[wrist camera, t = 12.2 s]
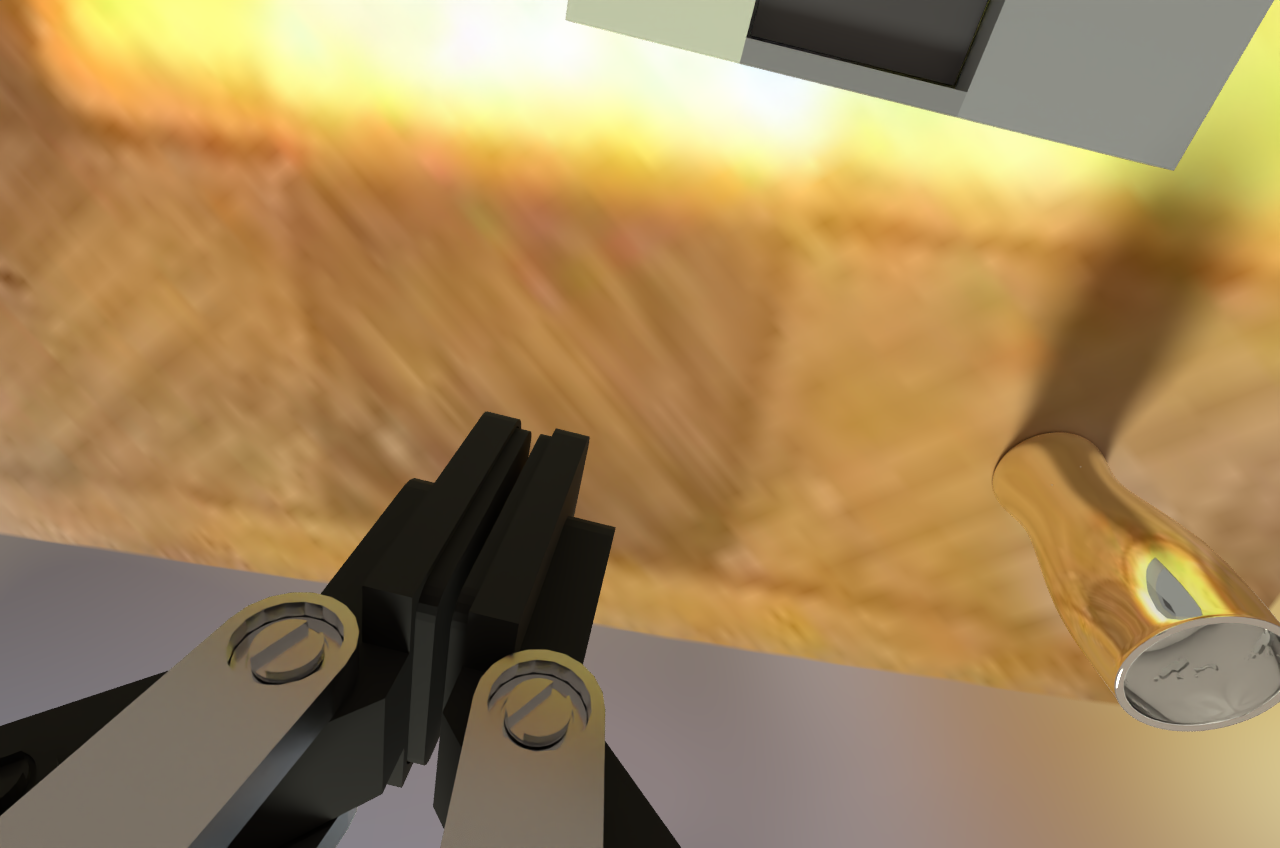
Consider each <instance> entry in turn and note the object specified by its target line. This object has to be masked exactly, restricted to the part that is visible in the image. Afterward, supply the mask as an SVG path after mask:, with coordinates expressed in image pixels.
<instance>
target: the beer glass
mask: <svg viewBox="0 0 1280 848" xmlns="http://www.w3.org/2000/svg"><path fill="white" fill-rule="evenodd" d="M992 485H993V491H994V494H995V497H996V499H997V500H998V502H999V503H1000V505H1001V506H1002V507H1003V508H1004V509H1005V510H1006V511H1007V512H1008V513H1009V514H1010V515H1011V516H1012V517H1014V518H1015V519H1016V520H1017V521H1018V522H1019V523H1020V524H1021V525H1022V526H1023V528H1024V529H1025V530H1026V532H1027V534H1028V536H1029V537H1030V540H1031V542H1032V545H1033V548H1034V550H1035V553H1036V556H1037V559H1038V562H1039V566H1040V569H1041V571H1042V574H1043V577H1044V580H1045V583H1046V586H1047V588H1048V591H1049V593H1050V595H1051V598H1052V600H1053V603H1054V605H1055V607H1056V609H1057V611H1058V613H1059V615H1060V617H1061V619H1062V620H1063V622H1064V624H1065V626H1066V627H1067V629H1068V631H1069V633H1070V634H1071V636H1072V637H1073V639H1074V640H1075V642H1076V643H1077V645H1078V646H1079V648H1080V649H1081V651H1082V652H1083V654H1084V655H1085V657H1086V658H1087V659H1088V661H1089V662H1090V663H1091V665H1092V666H1093V668H1094V669H1095V670H1096V672H1097V673H1098V674H1099V676H1100V677H1101V678H1102V679H1103V681H1104V682H1105V683H1106V685H1107V686H1108V687H1109V689H1110V690H1111V691H1112V693H1113V694H1114V695H1115V697H1116V698H1117V700H1118V702H1119V704H1120V705H1121V707H1122V708H1123V709H1124V710H1125V711H1126V712H1127V713H1128V714H1129V715H1131V716H1132V717H1133V718H1135V719H1137V720H1138V721H1140V722H1143V723H1145V724H1147V725H1150V726H1153V727H1157V728H1161V729H1166V730H1172V731H1204V730H1211V729H1217V728H1222V727H1226V726H1230V725H1234V724H1237V723H1240V722H1243V721H1246V720H1248V719H1251V718H1253V717H1255V716H1257V715H1259V714H1261V713H1263V712H1265V711H1267V710H1268V709H1270V708H1272V707H1273V706H1274V705H1276V704H1277V703H1279V702H1280V622H1279V621H1278V620H1277V619H1276V618H1275V617H1274V615H1273V614H1272V613H1271V612H1270V610H1269V609H1268V608H1267V607H1266V605H1265V604H1264V603H1263V602H1262V601H1261V600H1260V598H1259V597H1258V596H1257V595H1256V594H1255V593H1254V591H1253V590H1252V589H1251V588H1250V587H1249V586H1248V585H1247V583H1246V582H1245V581H1244V580H1243V579H1242V578H1241V577H1240V576H1239V575H1238V574H1237V573H1236V572H1235V571H1234V570H1233V569H1232V568H1231V567H1230V566H1229V564H1228V563H1227V562H1226V561H1224V560H1223V559H1222V558H1221V557H1220V556H1219V555H1218V554H1217V553H1216V552H1215V551H1213V550H1212V549H1211V548H1210V547H1209V546H1208V545H1207V544H1206V543H1205V542H1204V541H1202V540H1201V539H1200V538H1198V537H1197V536H1196V535H1194V534H1193V533H1192V532H1190V531H1189V530H1188V529H1186V528H1185V527H1184V526H1182V525H1181V524H1179V523H1178V522H1177V521H1175V520H1174V519H1172V518H1171V517H1169V516H1168V515H1166V514H1164V513H1163V512H1161V511H1160V510H1158V509H1157V508H1155V507H1154V506H1152V505H1151V504H1149V503H1148V502H1146V501H1144V500H1143V499H1141V498H1140V497H1138V496H1137V495H1135V494H1134V493H1132V492H1131V491H1130V490H1128V489H1127V488H1126V487H1124V486H1123V485H1122V484H1121V483H1120V482H1119V481H1118V480H1117V479H1116V477H1115V476H1114V475H1113V473H1112V471H1111V469H1110V468H1109V466H1108V464H1107V462H1106V460H1105V458H1104V456H1103V455H1102V453H1101V452H1100V450H1099V449H1098V448H1097V447H1096V446H1095V445H1094V444H1093V443H1092V442H1090V441H1089V440H1087V439H1085V438H1083V437H1081V436H1079V435H1076V434H1072V433H1065V432H1052V433H1045V434H1040V435H1037V436H1034V437H1031V438H1029V439H1026V440H1024V441H1022V442H1021V443H1019V444H1017V445H1016V446H1014V447H1013V448H1012V449H1011V450H1009V451H1008V452H1007V453H1006V454H1005V455H1004V456H1003V458H1002V459H1001V460H1000V462H999V463H998V465H997V467H996V469H995V471H994V475H993V482H992Z"/></svg>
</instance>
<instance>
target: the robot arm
mask: <svg viewBox="0 0 1280 848" xmlns="http://www.w3.org/2000/svg"><path fill="white" fill-rule="evenodd" d="M530 443H531V431H527V430H523V429H521V421H520V419H516V418H512V417H508V416H504V415H499V414H495V413H491V412H485V413H484V414H483V415H482V416H481V418H480V419H479V421H478V422H477V423H476V425H475V426H474V428H473V429H472V430H471V432H470V433H469V435H468V436H467V438H466V439H465V440H464V442H463V443H462V445H461V446H460V448H459V449H458V450H457V452H456V453H455V455H454V456H453V457H452V459H451V460H450V462H449V463H448V465H447V466H446V467H445V469H444V470H443V472H442V473H441V474H440V476H439V477H438V479H437V480H436V482H435V483H433V482H429V481H424V480H420V479H416V478H414V479H411V480H409V481H408V482H407V483H406V484H405V485H404V487H403V488H402V489H401V491H400V492H399V493H398V494H397V496H396V497H395V498H394V500H393V501H392V502H391V504H390V505H389V506H388V507H387V509H386V510H385V511H384V513H383V514H382V515H381V516H380V518H379V519H378V520H377V522H376V523H375V524H374V526H373V527H372V528H371V529H370V531H369V532H368V533H367V535H366V536H365V537H364V538H363V540H362V541H361V542H360V544H359V545H358V546H357V548H356V549H355V550H354V551H353V553H352V554H351V555H350V557H349V558H348V559H347V560H346V562H345V563H344V564H343V566H342V567H341V568H340V570H339V571H338V572H337V573H336V575H335V576H334V577H333V579H332V580H331V581H330V582H329V584H328V585H327V586H326V588H325V589H324V591H323V592H322V593H321V594H317V593H311V592H309V593H307V592H305V593H303V592H301V593H300V592H298V593H297V592H293V593H287V594H281V595H277V596H271V597H268V598H266V599H263V600H261V601H258V602H256V603H254V604H251V605H248V606H247V607H246V608H244V609H243V610H241V611H240V612H238V613H237V614H235V615H234V616H232V617H231V618H229V619H228V620H227V621H226V622H225V623H224V624H223V625H221V626H220V627H219V628H218V629H217V630H216V631H214V632H213V633H212V634H211V635H210V636H209V637H208V638H206V639H205V640H204V641H203V642H202V643H201V644H199V645H198V646H197V647H196V648H195V649H193V650H192V651H191V652H190V653H189V654H188V655H187V656H185V657H184V658H183V659H182V660H181V661H180V662H179V663H177V664H176V665H175V666H174V667H173V668H171V669H170V670H169V671H166V672H163V673H160V674H157V675H154V676H151V677H148V678H145V679H142V680H139V681H136V682H133V683H130V684H126V685H123V686H120V687H117V688H114V689H111V690H108V691H105V692H102V693H99V694H96V695H93V696H90V697H87V698H84V699H81V700H78V701H75V702H72V703H69V704H66V705H63V706H60V707H57V708H54V709H51V710H48V711H45V712H42V713H39V714H35V715H32V716H29V717H26V718H23V719H20V720H17V721H14V722H11V723H8V724H5V725H2V726H0V848H336V846H337V845H338V843H339V842H340V840H341V839H342V837H343V835H344V834H345V833H346V831H347V830H348V828H349V826H350V824H351V822H352V819H353V818H354V815H355V813H356V812H357V807H358V806H360V805H362V804H364V803H365V802H367V801H369V800H371V799H373V798H375V797H377V796H379V795H381V794H382V793H383V791H384V789H385V787H386V785H387V784H389V785H393V786H397V787H401V788H402V786H403V784H404V782H405V780H406V777H407V775H408V773H409V771H410V768H411V766H412V764H413V763H417V764H421V765H426V764H427V762H428V761H429V759H430V757H431V755H432V753H433V750H434V748H435V746H436V743H437V741H438V739H439V737H440V741H439V751H438V761H437V762H438V763H437V772H436V784H435V793H434V803H433V807H434V809H435V811H436V813H437V815H438V818H439V820H440V822H441V824H442V826H443V828H444V833H443V837H442V842H441V847H440V848H681V847H680V845H679V844H678V843H677V841H676V840H675V838H674V837H673V836H672V834H671V833H670V831H669V830H668V828H667V827H666V826H665V824H664V823H663V821H662V820H661V819H660V817H659V816H658V815H657V813H656V812H655V810H654V809H653V808H652V806H651V805H650V803H649V802H648V800H647V799H646V798H645V796H644V795H643V793H642V792H641V791H640V789H639V788H638V787H637V785H636V784H635V782H634V781H633V779H632V778H631V777H630V775H629V774H628V772H627V771H626V770H625V768H624V767H623V766H622V764H621V763H620V761H619V760H618V758H617V757H616V756H615V754H614V753H613V751H612V750H611V749H610V747H609V746H608V744H607V743H606V742H605V705H604V699H603V692H602V690H601V688H600V686H599V685H598V683H597V681H596V679H595V677H594V676H593V675H592V674H591V673H590V672H589V671H588V670H587V669H586V668H585V667H584V666H583V662H584V658H585V653H586V649H587V645H588V641H589V637H590V633H591V628H592V624H593V620H594V616H595V612H596V607H597V603H598V599H599V595H600V591H601V587H602V582H603V578H604V574H605V570H606V566H607V562H608V557H609V553H610V549H611V545H612V541H613V536H614V532H615V528H616V527H612V526H608V525H604V524H600V523H596V522H592V521H587V520H583V519H579V518H575V517H574V513H575V508H576V504H577V499H578V494H579V489H580V484H581V479H582V475H583V470H584V465H585V460H586V455H587V450H588V445H589V436H585V435H581V434H577V433H573V432H569V431H565V430H561V429H555V431H554V433H553V435H552V437H551V436H547V435H543V434H540V436H539V438H538V440H537V442H536V444H535V446H534V448H533V450H532V451H531V453H530V455H529V449H530ZM528 456H529V457H528Z"/></svg>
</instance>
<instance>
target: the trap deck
mask: <svg viewBox="0 0 1280 848" xmlns="http://www.w3.org/2000/svg"><path fill="white" fill-rule="evenodd" d="M755 1H756V0H568V5H567V13H566V20H567V21H571V22H574V23H578V24H582V25H586V26H590V27H594V28H598V29H602V30H606V31H610V32H614V33H618V34H622V35H626V36H630V37H634V38H638V39H642V40H646V41H650V42H654V43H658V44H662V45H666V46H670V47H674V48H678V49H683V50H687V51H691V52H695V53H699V54H703V55H707V56H711V57H715V58H719V59H723V60H727V61H731V62H735V63H739V64H743V65H747V66H751V67H755V68H759V69H763V70H767V71H771V72H775V73H779V74H783V75H787V76H792V77H796V78H800V79H804V80H808V81H812V82H816V83H820V84H824V85H828V86H832V87H836V88H840V89H844V90H848V91H852V92H856V93H860V94H864V95H868V96H872V97H876V98H880V99H884V100H888V101H892V102H897V103H901V104H905V105H909V106H913V107H917V108H921V109H925V110H929V111H933V112H937V113H941V114H945V115H949V116H953V117H957V118H961V119H965V120H969V121H973V122H977V123H981V124H985V125H989V126H993V127H997V128H1001V129H1006V130H1010V131H1014V132H1018V133H1022V134H1026V135H1030V136H1034V137H1038V138H1042V139H1046V140H1050V141H1054V142H1058V143H1062V144H1066V145H1070V146H1074V147H1078V148H1082V149H1086V150H1090V151H1094V152H1098V153H1102V154H1106V155H1110V156H1115V157H1119V158H1123V159H1127V160H1131V161H1135V162H1139V163H1143V164H1147V165H1151V166H1156V167H1160V168H1165V169H1169V170H1175V168H1176V166H1177V164H1178V163H1179V161H1180V159H1181V158H1182V156H1183V154H1184V153H1185V151H1186V149H1187V147H1188V146H1189V144H1190V142H1191V141H1192V139H1193V137H1194V136H1195V134H1196V132H1197V130H1198V129H1199V127H1200V125H1201V124H1202V122H1203V120H1204V118H1205V117H1206V115H1207V113H1208V112H1209V110H1210V108H1211V107H1212V105H1213V103H1214V101H1215V100H1216V98H1217V96H1218V95H1219V93H1220V91H1221V90H1222V88H1223V86H1224V84H1225V83H1226V81H1227V79H1228V78H1229V76H1230V74H1231V73H1232V71H1233V69H1234V67H1235V66H1236V64H1237V62H1238V61H1239V59H1240V57H1241V55H1242V54H1243V52H1244V50H1245V49H1246V47H1247V45H1248V44H1249V42H1250V40H1251V38H1252V37H1253V35H1254V33H1255V32H1256V30H1257V28H1258V27H1259V25H1260V23H1261V21H1262V20H1263V18H1264V16H1265V15H1266V13H1267V11H1268V10H1269V8H1270V6H1271V4H1272V3H1273V1H1274V0H990V2H989V4H988V7H987V9H986V11H985V14H984V16H983V19H982V21H981V24H980V26H979V29H978V31H977V34H976V36H975V39H974V41H973V44H972V46H971V49H970V51H969V53H968V56H967V58H966V61H965V63H964V66H963V68H962V71H961V73H960V76H959V78H958V81H957V83H956V86H955V88H954V89H952V88H948V87H944V86H940V85H936V84H932V83H928V82H924V81H920V80H915V79H911V78H907V77H903V76H899V75H895V74H891V73H887V72H883V71H879V70H875V69H871V68H867V67H863V66H859V65H855V64H851V63H847V62H843V61H839V60H835V59H831V58H827V57H823V56H819V55H815V54H811V53H807V52H803V51H798V50H794V49H790V48H786V47H782V46H778V45H774V44H770V43H766V42H762V41H758V40H754V39H750V38H746V36H747V32H748V28H749V25H750V21H751V17H752V13H753V9H754V5H755ZM987 2H988V0H759V4H758V8H757V12H756V16H755V20H754V23H753V27H752V31H751V35H750V36H754V37H758V38H762V39H766V40H770V41H774V42H778V43H782V44H786V45H790V46H794V47H798V48H802V49H806V50H811V51H815V52H819V53H823V54H827V55H831V56H835V57H839V58H843V59H847V60H851V61H855V62H859V63H863V64H867V65H871V66H875V67H879V68H883V69H887V70H891V71H895V72H899V73H903V74H907V75H911V76H915V77H919V78H924V79H928V80H932V81H936V82H940V83H944V84H948V85H954V83H955V81H956V78H957V76H958V73H959V71H960V68H961V66H962V64H963V61H964V59H965V56H966V54H967V51H968V49H969V46H970V44H971V41H972V39H973V36H974V34H975V31H976V29H977V26H978V24H979V21H980V19H981V16H982V14H983V12H984V9H985V7H986V4H987Z"/></svg>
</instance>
